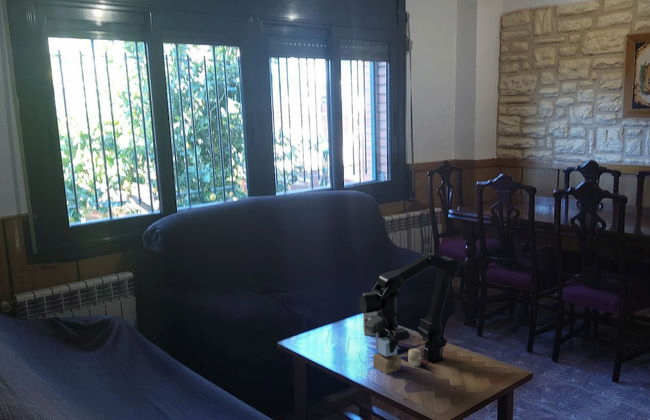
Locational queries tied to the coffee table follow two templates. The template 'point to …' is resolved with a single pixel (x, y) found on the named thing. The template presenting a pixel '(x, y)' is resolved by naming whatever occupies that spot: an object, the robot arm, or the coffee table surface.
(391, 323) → the robot arm
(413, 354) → the beech cylinder
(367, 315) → the coffee box
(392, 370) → the tan block
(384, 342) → the blue cube
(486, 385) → the coffee table surface
